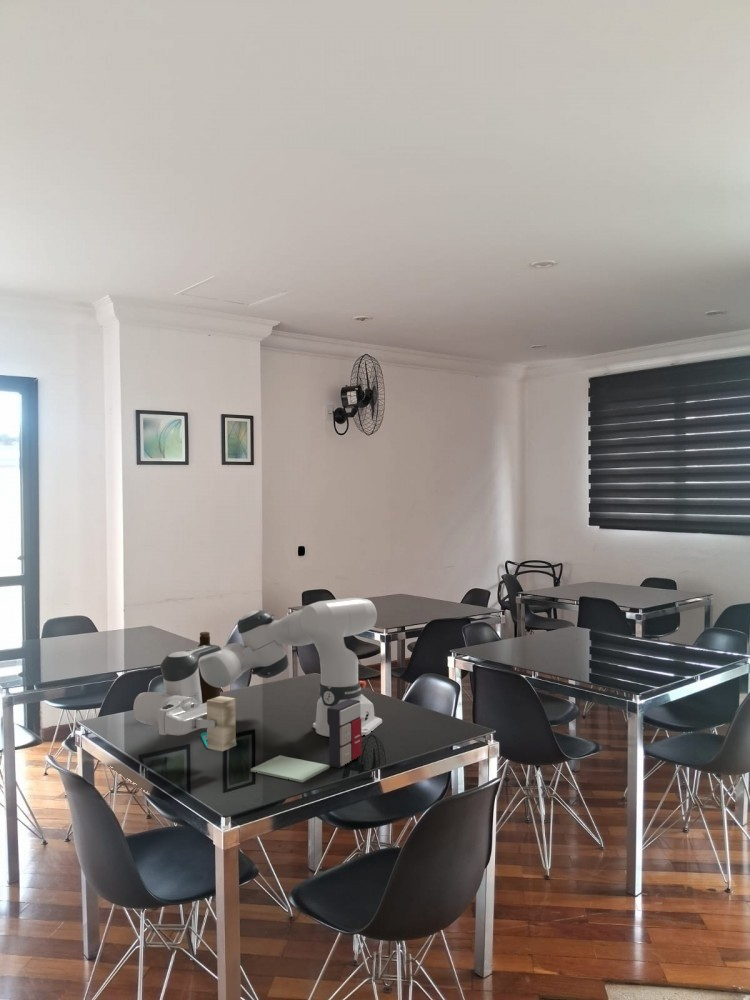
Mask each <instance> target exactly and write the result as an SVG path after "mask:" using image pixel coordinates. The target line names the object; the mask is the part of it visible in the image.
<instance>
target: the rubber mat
mask: <svg viewBox="0 0 750 1000" xmlns="http://www.w3.org/2000/svg"><path fill="white" fill-rule="evenodd" d="M330 767H331V766H330V764H324V763H319V762H315V761H309V760H305V759H299V758H295V757H288V756H284V755H280V754H279V755H278V756H275V757H273V758H271V759H269V760H266V761H264V762H262V763H261V764H258V765H256V766H254V767H252V768H250V772H252V773H256V772H257V773H256V774H260V775H265V776H271V777H275V778H280V779H285V780H288V779H289V781H294V782H298V783H305V782H306V781H307V780H310V779H311V778H313V777H315V776H317V775H319V774H321V773H322V772H324V771H326V770H329V768H330Z"/></svg>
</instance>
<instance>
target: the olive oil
mask: <svg viewBox="0 0 750 1000" xmlns="http://www.w3.org/2000/svg"><path fill="white" fill-rule="evenodd" d="M210 634H211V633H210V632H209V631H200V632H199V644H198V646H197V647H200V646H205V645H212V644H211V636H210ZM199 677H200V686H201V694H202V704H203V703H206V702H207V700H210V699H213V698H216V697H219V696H221V688H217V687H213V686H211V685H209V684H208V683H207V682H206V681H205V680H204V679H203V677H202V675H201V672H200V667H199Z"/></svg>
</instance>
